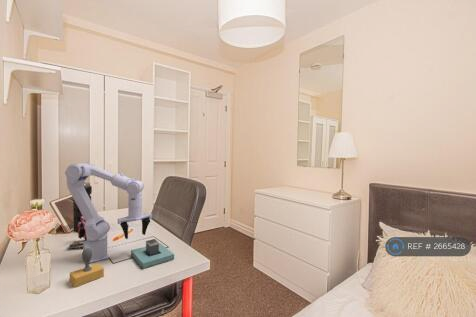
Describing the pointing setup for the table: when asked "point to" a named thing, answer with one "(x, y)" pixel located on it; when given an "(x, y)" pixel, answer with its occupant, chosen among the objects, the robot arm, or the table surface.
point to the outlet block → (153, 260)
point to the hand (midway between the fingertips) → (135, 236)
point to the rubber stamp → (86, 271)
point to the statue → (81, 234)
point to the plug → (152, 247)
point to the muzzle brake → (76, 211)
